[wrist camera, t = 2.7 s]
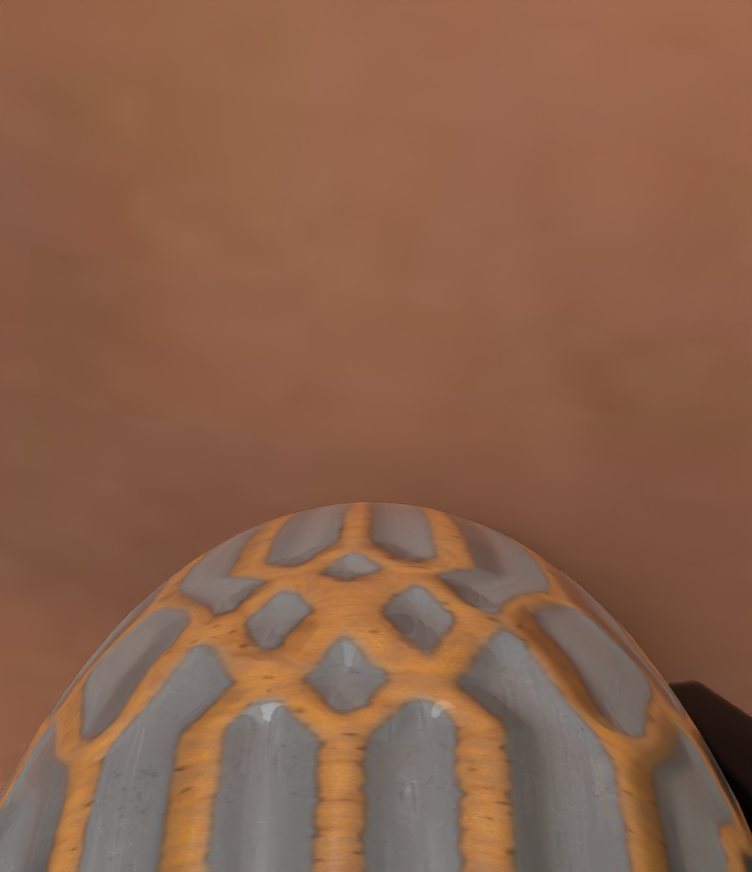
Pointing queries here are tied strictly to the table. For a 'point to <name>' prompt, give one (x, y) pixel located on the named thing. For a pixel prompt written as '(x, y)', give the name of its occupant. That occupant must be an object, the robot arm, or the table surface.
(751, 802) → the robot arm
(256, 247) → the table surface
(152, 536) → the table surface
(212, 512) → the table surface
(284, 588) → the vase
